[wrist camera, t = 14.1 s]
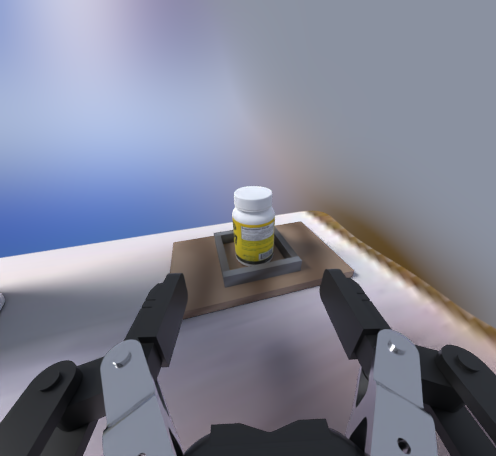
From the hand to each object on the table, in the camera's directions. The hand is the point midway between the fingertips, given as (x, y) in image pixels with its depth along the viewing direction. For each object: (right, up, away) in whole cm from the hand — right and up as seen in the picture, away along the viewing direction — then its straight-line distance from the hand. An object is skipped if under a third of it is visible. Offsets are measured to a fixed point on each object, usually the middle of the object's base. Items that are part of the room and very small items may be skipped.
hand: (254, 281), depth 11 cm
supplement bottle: (0, -1, +13) cm, 13 cm away
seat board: (0, -1, +14) cm, 14 cm away
